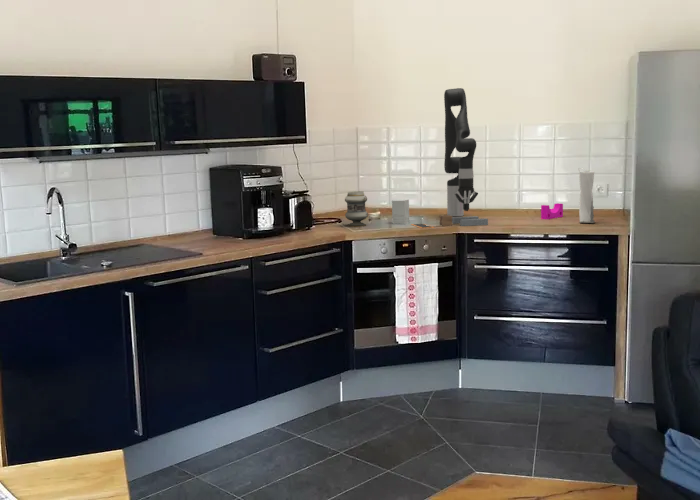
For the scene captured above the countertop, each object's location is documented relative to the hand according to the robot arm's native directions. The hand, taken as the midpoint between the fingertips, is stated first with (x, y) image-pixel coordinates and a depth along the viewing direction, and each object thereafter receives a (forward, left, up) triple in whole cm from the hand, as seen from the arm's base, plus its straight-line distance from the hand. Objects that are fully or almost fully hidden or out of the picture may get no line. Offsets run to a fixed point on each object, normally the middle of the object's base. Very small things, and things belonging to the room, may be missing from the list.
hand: (466, 210), depth 416 cm
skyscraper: (+16, +59, -7) cm, 62 cm away
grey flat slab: (0, +2, -7) cm, 7 cm away
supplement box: (-18, -30, -7) cm, 36 cm away
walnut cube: (+1, -11, -7) cm, 14 cm away
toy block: (-11, +53, -7) cm, 54 cm away
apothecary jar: (-16, -55, -7) cm, 58 cm away
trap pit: (0, -24, -7) cm, 25 cm away
